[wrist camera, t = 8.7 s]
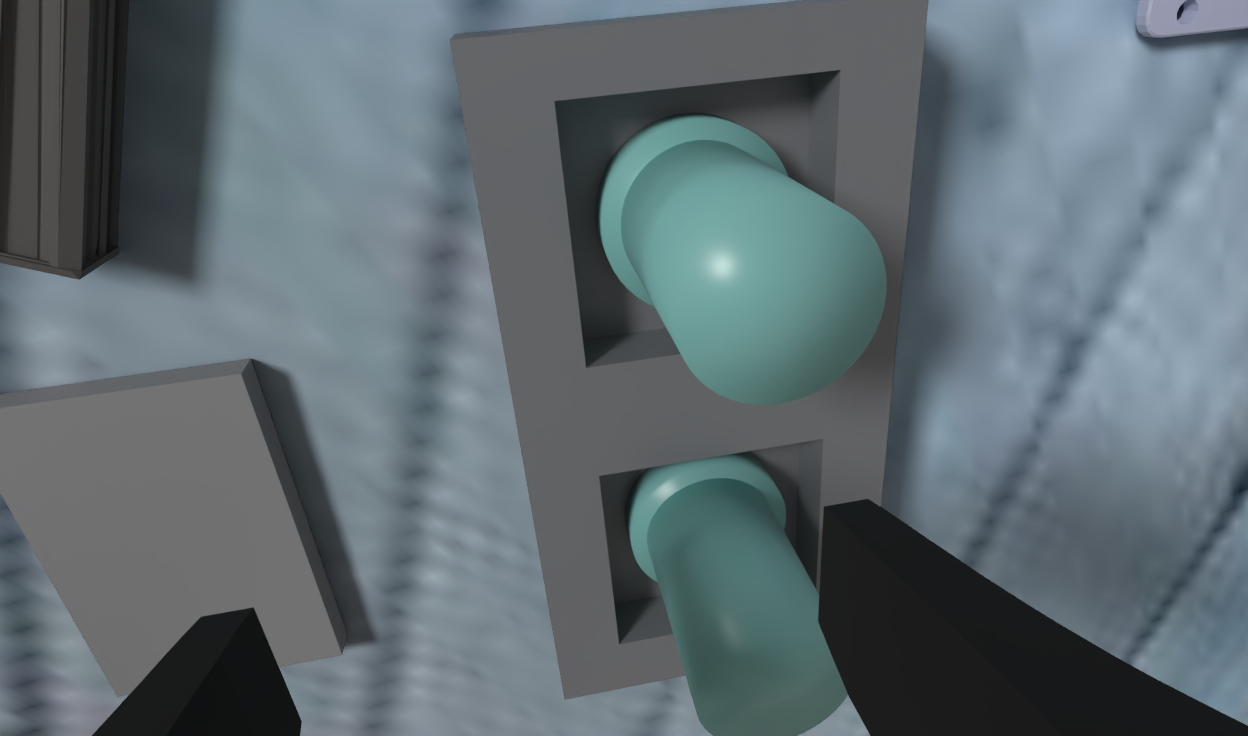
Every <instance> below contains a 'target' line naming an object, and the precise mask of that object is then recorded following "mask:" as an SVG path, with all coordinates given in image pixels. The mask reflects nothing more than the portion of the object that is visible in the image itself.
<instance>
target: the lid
mask: <svg viewBox="0 0 1248 736" xmlns="http://www.w3.org/2000/svg"><path fill="white" fill-rule="evenodd" d="M0 493H1V495H2V497H3V498H4V500H5V502H6V504H7V505H8V507H9V509H10V511H11V512H12V514H13V516H14V517H15V519H16V521H17V523H18V524H19V526H20V528H21V530H22V531H23V533H24V535H25V537H26V538H27V540H28V542H29V544H30V545H31V547H32V549H33V551H34V552H35V554H36V556H37V558H38V559H39V561H40V563H41V564H42V566H43V568H44V570H45V571H46V573H47V575H48V577H49V578H50V580H51V582H52V584H53V585H54V587H55V589H56V591H57V592H58V594H59V596H60V598H61V599H62V601H63V603H64V605H65V606H66V608H67V610H68V611H69V613H70V615H71V617H72V618H73V620H74V622H75V624H76V625H77V627H78V629H79V631H80V632H81V634H82V636H83V638H84V639H85V641H86V643H87V645H88V646H89V648H90V650H91V652H92V653H93V655H94V657H95V659H96V660H97V662H98V664H99V665H100V667H101V669H102V671H103V672H104V674H105V676H106V678H107V679H108V681H109V683H110V685H111V686H112V688H113V690H114V692H115V693H116V695H117V697H119V696H124V695H130V693H131V692H132V691H133V690H134V689H135V688H136V687H137V686H138V685H139V683H140V682H141V681H142V680H143V679H144V678H145V677H146V676H147V675H148V673H149V672H150V671H151V670H152V669H153V668H154V667H155V666H156V665H157V663H158V662H159V661H160V660H161V659H162V658H163V657H164V656H165V655H166V654H167V652H168V651H169V650H170V649H171V648H172V647H173V646H174V645H175V644H176V643H177V641H178V640H179V639H180V638H181V637H182V636H183V635H184V634H185V633H186V632H187V631H188V630H189V629H190V628H191V627H192V626H193V625H194V624H195V622H196V621H197V620H198V619H199V618H200V617H202V616H208V615H213V614H219V613H225V612H230V611H236V610H241V609H247V608H253V607H254V609H255V612H256V614H257V616H258V619H259V621H260V624H261V626H262V628H263V631H264V633H265V636H266V638H267V640H268V643H269V645H270V647H271V650H272V652H273V655H274V657H275V659H276V662H277V664H278V667H280V666H286V665H291V664H297V663H302V662H307V661H313V660H318V659H323V658H329V657H334V656H340V655H342V653H343V649H344V644H345V640H346V635H347V633H346V630H345V627H344V624H343V621H342V618H341V616H340V613H339V610H338V607H337V604H336V601H335V598H334V595H333V593H332V590H331V587H330V584H329V581H328V578H327V575H326V573H325V570H324V567H323V564H322V561H321V558H320V555H319V553H318V550H317V547H316V544H315V541H314V538H313V535H312V532H311V530H310V527H309V524H308V521H307V518H306V515H305V512H304V510H303V507H302V504H301V501H300V498H299V495H298V492H297V490H296V487H295V484H294V481H293V478H292V475H291V472H290V469H289V467H288V464H287V461H286V458H285V455H284V452H283V449H282V447H281V444H280V441H279V438H278V435H277V432H276V429H275V427H274V424H273V421H272V418H271V415H270V412H269V409H268V406H267V404H266V401H265V398H264V395H263V392H262V389H261V386H260V384H259V381H258V378H257V375H256V372H255V369H254V366H253V364H252V361H251V359H245V360H238V361H231V362H224V363H217V364H210V365H203V366H196V367H189V368H182V369H174V370H167V371H160V372H153V373H146V374H139V375H132V376H125V377H118V378H111V379H104V380H97V381H89V382H82V383H75V384H68V385H61V386H54V387H47V388H40V389H33V390H26V391H19V392H12V393H5V394H0Z"/></svg>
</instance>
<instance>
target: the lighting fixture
mask: <svg viewBox="0 0 1248 736" xmlns="http://www.w3.org/2000/svg"><path fill="white" fill-rule="evenodd" d="M128 2H129V0H0V263H4V264H8V265H13V266H18V267H23V268H27V269H32V270H37V271H41V272H46V273H51V274H56V275H60V276H65V277H70V278H75V279H81V278H82V277H84V276H85V275H87V274H88V273H90V272H91V271H93V270H94V269H96V268H97V267H99V266H100V265H102V264H103V263H105V262H106V261H108V260H109V259H111V258H113V257H114V256H116V255H117V254H118V252H119V247H117V230H118V209H119V188H120V168H121V147H122V126H123V106H124V85H125V64H126V44H127V23H128Z"/></svg>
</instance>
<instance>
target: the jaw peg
mask: <svg viewBox="0 0 1248 736" xmlns="http://www.w3.org/2000/svg"><path fill="white" fill-rule="evenodd" d="M625 522H626V528H627V532H628V535H629V539H630V543H631V546H632V550H633V554H634V556H635V559H636V561H637V563H638V564H639V566H640V568H641V569H642V570H643V571H644V572H645V573H646V574H647V575H648V576H649V577H650V578H651V579H653V580H655V581H656V582H658V584H659V588H660V591H661V594H662V598H663V601H664V604H665V608H666V611H667V614H668V618H669V621H670V625H671V628H672V631H673V635H674V638H675V641H676V645H677V648H678V651H679V655H680V658H681V661H682V665H683V668H684V672H685V675H686V678H687V682H688V685H689V688H690V692H691V695H692V698H693V702H694V705H695V709H696V712H697V715H698V718H699V720H700V722H701V724H702V725H703V727H704V728H705V729H706V730H707V731H708V732H709V733H711V734H712V735H713V736H797V735H799V734H802V733H804V732H806V731H808V730H809V729H811V728H813V727H815V726H816V725H818V724H819V723H821V722H822V721H824V720H825V719H826V718H827V717H829V716H830V715H831V714H832V713H833V712H834V711H835V710H836V709H837V708H838V707H839V706H840V705H841V703H842V702H843V701H844V699H845V698H846V696H847V695H848V693H847V691H846V688H845V686H844V684H843V681H842V679H841V677H840V674H839V672H838V670H837V667H836V665H835V663H834V660H833V658H832V655H831V653H830V650H829V648H828V645H827V643H826V640H825V638H824V635H823V633H822V630H821V628H820V625H819V623H818V611H819V594H818V592H817V590H816V588H815V587H814V585H813V583H812V581H811V579H810V577H809V576H808V574H807V572H806V570H805V568H804V567H803V565H802V563H801V561H800V559H799V557H798V556H797V554H796V552H795V550H794V548H793V547H792V545H791V543H790V541H789V539H788V538H787V536H786V534H785V532H784V528H785V523H786V508H785V503H784V500H783V498H782V495H781V493H780V491H779V490H778V488H777V486H776V485H775V483H774V481H773V479H772V478H771V476H770V474H769V473H768V471H767V469H766V468H765V466H764V465H763V464H762V463H761V462H760V460H759V459H758V458H756V457H755V456H754V455H752V454H751V453H749V452H741V453H735V454H729V455H723V456H717V457H711V458H705V459H699V460H693V461H687V462H681V463H675V464H669V465H663V466H657V467H651V468H648V469H647V470H646V471H645V472H644V473H643V474H642V475H641V477H640V478H639V479H638V480H637V482H636V483H635V485H634V486H633V488H632V490H631V492H630V494H629V497H628V500H627V503H626V509H625Z"/></svg>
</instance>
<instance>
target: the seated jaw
mask: <svg viewBox="0 0 1248 736" xmlns="http://www.w3.org/2000/svg"><path fill="white" fill-rule="evenodd" d="M595 211H596V226H597V232H598V236H599V239H600V242H601V245H602V247H603V250H604V252H605V254H606V256H607V258H608V260H609V262H610V264H611V267H612V269H613V271H614V272H615V274H616V275H617V277H618V278H619V280H620V281H621V282H622V283H623V284H624V285H625V287H626V288H627V289H628V290H629V291H631V292H632V293H633V294H634V295H635V296H636V297H638V298H639V299H641V300H643V301H644V302H646V303H648V304H650V305H652V306H654V307H655V308H656V310H657V312H658V314H659V316H660V317H661V319H662V321H663V323H664V325H665V326H666V328H667V330H668V332H669V334H670V336H671V337H672V339H673V341H674V343H675V345H676V346H677V348H678V350H679V352H680V354H681V355H682V357H683V359H684V361H685V362H686V364H687V366H688V367H689V369H690V370H691V372H692V373H693V374H694V375H695V376H696V377H697V378H698V380H699V381H701V382H702V383H703V384H704V385H705V386H706V387H708V388H709V389H711V390H712V391H714V392H715V393H717V394H719V395H721V396H723V397H726V398H728V399H730V400H734V401H737V402H741V403H746V404H753V405H772V404H781V403H786V402H790V401H794V400H797V399H800V398H803V397H806V396H808V395H811V394H813V393H815V392H817V391H819V390H821V389H822V388H824V387H826V386H827V385H829V384H831V383H832V382H833V381H835V380H836V379H837V378H839V377H840V376H841V375H842V374H844V373H845V372H846V371H847V370H848V369H849V368H850V367H851V366H852V365H853V364H854V363H855V362H856V360H857V359H858V358H859V357H860V356H861V355H862V353H863V352H864V350H865V349H866V347H867V346H868V345H869V343H870V341H871V339H872V338H873V336H874V334H875V332H876V330H877V327H878V325H879V322H880V320H881V317H882V313H883V309H884V306H885V299H886V288H887V278H886V270H885V264H884V261H883V257H882V254H881V251H880V249H879V247H878V245H877V242H876V241H875V239H874V238H873V236H872V234H871V233H870V231H869V230H868V229H867V228H866V227H865V226H864V225H863V223H862V222H861V221H859V220H858V219H857V218H856V217H855V216H853V215H852V214H851V213H849V212H847V211H846V210H844V209H842V208H841V207H839V206H837V205H835V204H834V203H832V202H830V201H829V200H827V199H825V198H824V197H822V196H820V195H818V194H817V193H815V192H813V191H812V190H810V189H808V188H806V187H805V186H803V185H801V184H800V183H798V182H796V181H794V180H793V179H791V178H789V177H788V174H787V172H786V170H785V168H784V166H783V164H782V162H781V160H780V159H779V157H778V156H777V154H776V153H775V151H774V150H773V149H772V148H771V147H770V146H769V145H768V144H767V143H766V142H765V141H764V140H763V139H761V138H760V137H759V136H758V135H756V134H755V133H753V132H751V131H750V130H748V129H746V128H744V127H742V126H740V125H738V124H736V123H734V122H732V121H730V120H728V119H725V118H723V117H720V116H716V115H712V114H707V113H697V112H695V113H681V114H675V115H670V116H667V117H664V118H661V119H658V120H656V121H654V122H652V123H650V124H648V125H646V126H645V127H643V128H642V129H640V130H639V131H637V132H636V133H635V134H633V135H632V136H631V137H630V138H629V139H628V140H627V141H626V142H625V143H624V144H623V145H622V146H621V147H620V148H619V149H618V150H617V152H616V153H615V155H614V156H613V158H612V159H611V160H610V162H609V164H608V166H607V168H606V170H605V172H604V174H603V177H602V179H601V182H600V185H599V189H598V194H597V199H596V209H595Z"/></svg>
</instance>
